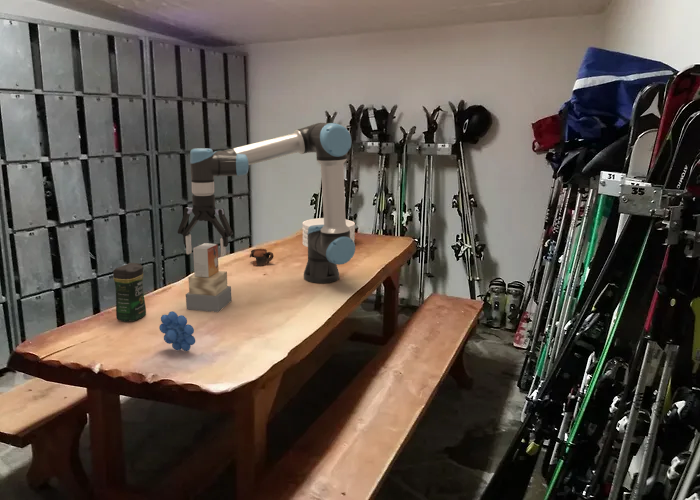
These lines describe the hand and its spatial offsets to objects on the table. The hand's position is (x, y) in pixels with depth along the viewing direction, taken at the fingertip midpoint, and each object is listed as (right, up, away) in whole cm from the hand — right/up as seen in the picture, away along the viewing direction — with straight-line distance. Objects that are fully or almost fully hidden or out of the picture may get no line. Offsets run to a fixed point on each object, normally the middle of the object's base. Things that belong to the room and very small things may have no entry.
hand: (206, 254), depth 191 cm
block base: (0, -19, +5) cm, 19 cm away
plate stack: (+39, +5, +100) cm, 108 cm away
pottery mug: (+10, -5, +59) cm, 60 cm away
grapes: (0, -28, -34) cm, 44 cm away
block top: (0, -13, +3) cm, 13 cm away
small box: (0, -7, +2) cm, 8 cm away
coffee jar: (-23, -21, -8) cm, 32 cm away
